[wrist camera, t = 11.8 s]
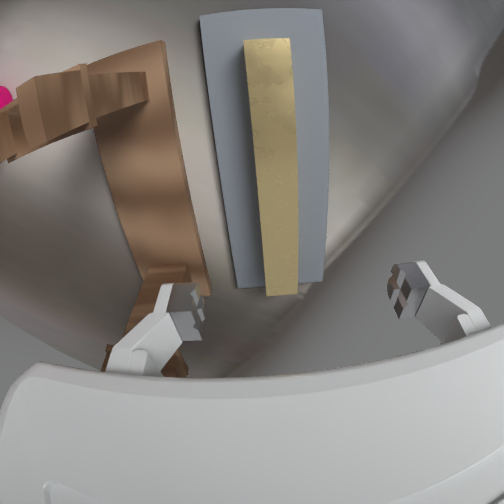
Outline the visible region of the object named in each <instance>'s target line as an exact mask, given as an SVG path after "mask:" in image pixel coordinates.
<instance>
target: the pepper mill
mask: <svg viewBox="0 0 504 504" xmlns="http://www.w3.org/2000/svg"><path fill="white" fill-rule="evenodd" d="M12 101H13V99H12V96H11V94H10V92H9V91H8V89H7V88H5V87H3V86H0V109H2V108H3V107H5V106H6V105H7V104H9V103H10V102H12Z"/></svg>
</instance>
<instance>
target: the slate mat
mask: <svg viewBox="0 0 504 504" xmlns="http://www.w3.org/2000/svg"><path fill="white" fill-rule="evenodd" d="M199 18H200V27H201V36H202V44H203V53H204V61H205V69H206V77H207V85H208V93H209V101H210V108H211V115H212V123H213V130H214V137H215V144H216V151H217V158H218V165H219V172H220V179H221V186H222V192H223V199H224V205H225V212H226V218H227V224H228V231H229V237H230V243H231V249H232V256H233V262H234V268H235V274H236V280H237V286H238V288H249V287H262V286H266V282H265V270H264V257H263V245H262V233H261V221H260V210H259V198H258V187H257V176H256V165H255V154H254V143H253V133H252V122H251V112H250V102H249V92H248V82H247V72H246V62H245V53H244V43H243V40H253V39H270V38H290V46H291V57H292V69H293V83H294V98H295V115H296V136H297V164H298V283H309V282H319V281H322V280H323V269H324V257H325V244H326V229H327V211H328V185H329V103H328V79H327V62H326V48H325V37H324V26H323V17H322V10H319V9H297V8H274V9H252V10H240V11H230V12H222V13H215V14H208V15H202V16H199Z"/></svg>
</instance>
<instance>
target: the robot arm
mask: <svg viewBox="0 0 504 504" xmlns="http://www.w3.org/2000/svg"><path fill="white" fill-rule="evenodd" d="M391 272H392V274H393V275H392V277H391V278H390V279H389V280H388V284H387V291H388V295H389V298H390V300H391V301H392V302H394V303H395V306H394V309H395V311H396V313H397V315H398V318H399V319H403V318H409V317H415V318H416V319H417V320H419V321H420V322H421V323H422V324H423V325H424V326H426V328H427V329H429V330H430V331H431V332H432V333H433V334H434V335H435V336H436V337H437V338H438V339H440V340H441V341H442V342H441V343H440V345H438V346H435V347H431V348H428V349H424V350H420V351H416V352H413V353H409V354H404V355H400V356H397V357H392V358H388V359H383V360H378V361H373V362H368V363H363V364H358V365H352V366H346V367H340V368H333V369H326V370H319V371H311V372H303V373H293V374H283V375H271V376H256V377H235V378H174V377H164V376H163V374H162V373H161V372H160V371H161V370H162V368H163V367H164V366H165V364H166V363H167V362H168V360H169V359H170V358H171V357H172V355H173V354H174V353H175V351H176V350H177V349H178V347H179V346H180V345H181V344H182V341H195V340H202V337H203V329H204V327H203V324H202V321H203V320H204V319H205V302H204V298H203V296H201V295H200V290H201V288H200V285H199V283H198V282H188V283H168V284H162V285H161V287H160V291H159V294H158V297H157V301H156V304H155V307H154V311H153V313H149V314H148V315H147V316H146V317H145V318H144V319H143V320H142V321H141V322H140V323H138V324H137V325H136V326H135V327H134V328H133V329H132V330H131V331H130V332H129V333H128V334H127V335H126V336H125V337H123V338H122V339H121V340H120V341H119V342H118V343H117V344H116V345H115V346H114V347H113V348H112V351H111V355H110V358H109V361H108V364H107V367H106V371H105V372H101V371H93V370H86V369H80V368H74V367H68V366H62V365H57V364H52V363H48V362H42V361H41V362H37V363H35V364H33V365H32V366H31V367H29V368H28V369H27V370H26V371H25V372H23V373H22V374H21V375H20V376H19V377H18V378H17V379H16V380H15V381H14V382H13V383H12V385H11V387H10V389H9V391H8V393H7V395H6V397H5V400H4V402H3V405H2V408H1V411H0V504H504V323H502V324H499V325H496V326H494V327H491V326H490V324H489V323H488V321H487V319H486V317H485V316H484V314H483V312H482V311H481V309H480V308H479V307H477V306H476V305H474V304H473V303H471V302H470V301H468V300H467V299H465V298H464V297H462V296H461V295H459V294H458V293H456V292H455V291H453V290H451V289H450V288H448V287H446V286H445V285H443V284H441V285H440V283H439V282H438V280H437V278H436V277H435V275H434V274H433V272H432V271H431V269H430V268H429V266H428V265H427V263H426V262H425V261H423V260H422V261H415V262H408V263H400V264H394V265H393V267H392V270H391Z"/></svg>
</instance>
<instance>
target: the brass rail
mask: <svg viewBox="0 0 504 504" xmlns="http://www.w3.org/2000/svg"><path fill="white" fill-rule="evenodd" d="M243 43H244V53H245V62H246V72H247V82H248V92H249V102H250V112H251V122H252V133H253V143H254V154H255V165H256V176H257V187H258V198H259V210H260V221H261V233H262V245H263V257H264V270H265V282H266V295H267V296H276V295H288V294H298V164H297V136H296V115H295V98H294V83H293V69H292V57H291V46H290V38H270V39H253V40H243Z"/></svg>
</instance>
